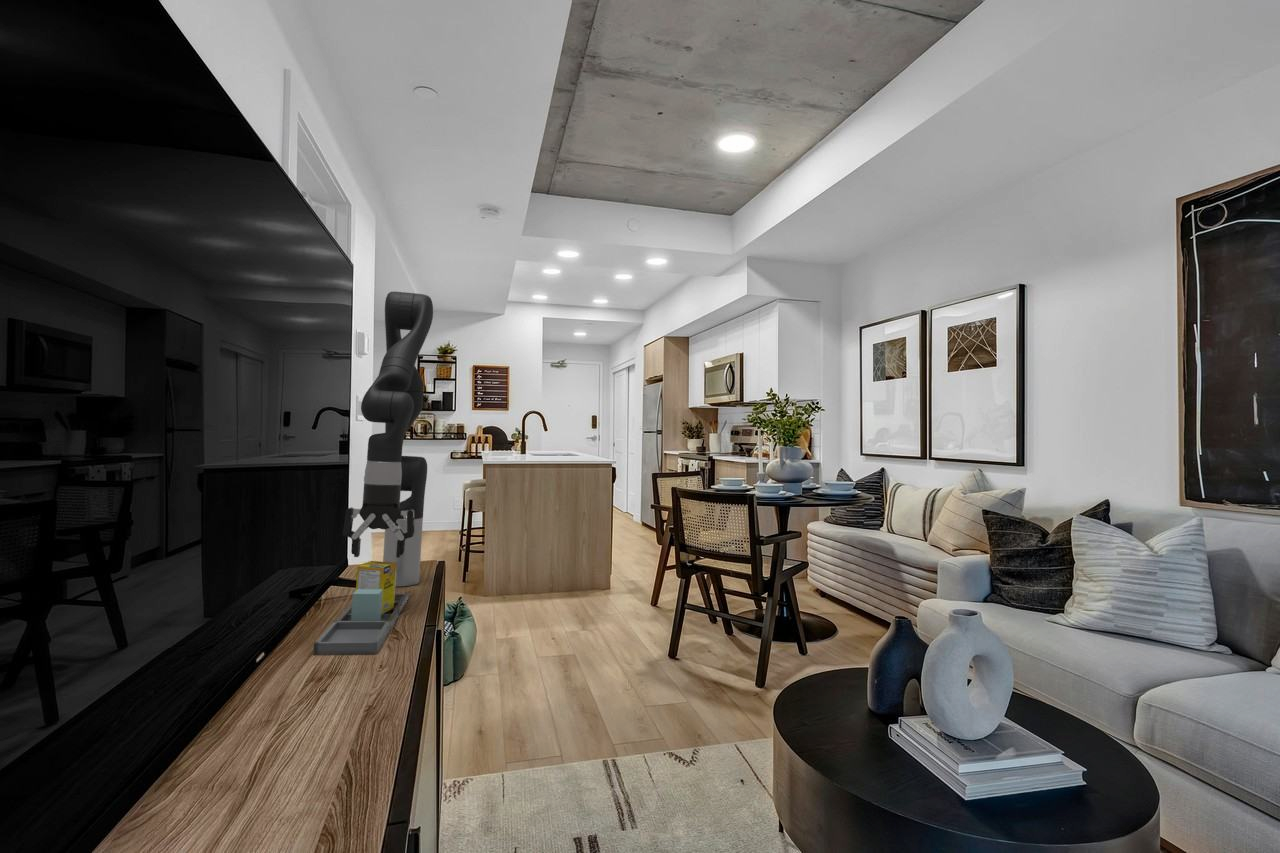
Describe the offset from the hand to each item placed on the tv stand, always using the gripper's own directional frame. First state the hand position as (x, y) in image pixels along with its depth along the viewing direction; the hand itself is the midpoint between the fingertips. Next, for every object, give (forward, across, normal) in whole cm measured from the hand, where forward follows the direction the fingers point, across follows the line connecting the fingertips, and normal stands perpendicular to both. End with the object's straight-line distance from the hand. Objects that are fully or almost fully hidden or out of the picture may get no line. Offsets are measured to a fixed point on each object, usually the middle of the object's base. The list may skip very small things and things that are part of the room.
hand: (377, 556), depth 138 cm
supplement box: (+13, 0, 0) cm, 13 cm away
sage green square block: (+13, 0, +8) cm, 15 cm away
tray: (+13, 0, +19) cm, 23 cm away
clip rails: (+12, 0, 0) cm, 12 cm away
